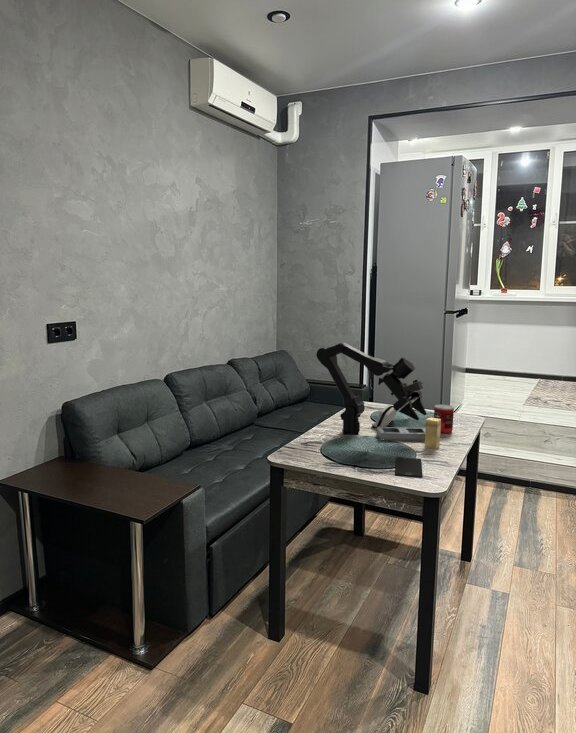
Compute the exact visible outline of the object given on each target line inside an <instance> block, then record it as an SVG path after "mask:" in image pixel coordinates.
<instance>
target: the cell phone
mask: <svg viewBox="0 0 576 733" xmlns="http://www.w3.org/2000/svg"><path fill="white" fill-rule="evenodd" d="M396 457H397V458H396ZM396 457H395V468H394V469H395V470H394V472H395V473H394V476H396V477H406V478H407V477H408V478H409V477H410V478H423V464H422V458H416V457H415V458H414V457H400V456H396Z"/></svg>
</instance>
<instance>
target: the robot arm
mask: <svg viewBox="0 0 576 733" xmlns="http://www.w3.org/2000/svg"><path fill="white" fill-rule="evenodd" d="M340 354H343V355H345V356H347V357H349V358H350V359H351V360H353V361H355V362H357V363H358V364H359V363H360V364H361V365H363V366H364V367H365V368H366V369H367V370H368V371H369V372H371V373H372V374H373V375H374V376H377V377H378V381H377V382H378V383H377V384H378V385H379V386H380V385H383V384H384V385H385V387H386V388H387V389H388V390H389V391H390V395H391V396H394V397H395V398H396V399H397V401H395V402H394V403H393V408H394V410H395V411H397V413H401V414H403V415H405V416H407V417H410V419H413V420H416V421H418V420H420V417H419V416H418V414H417V412H419V413H420V414H421V415H423V416H426V415H427V411H426V409H425V406H424V404H423V402H422V399H423V392H422V391H421V390H422V389H424V387H423V381H421V380H419V379H418V378H417V379H414V380H412V383H410V384H408V383H406V382H402V380H401V379H403V380H405V379H406V378H407V377H408V376H409V375H411V374H412V373H413V372H414V371H415V369H416V367H415V366H414V364H413V363H412V362H410V361H409V360H408V359H406V358H405V357H401V358H399V360H398V361H397V362H396V363H395V364H392V363H389V362H388V361H387V360H385V359H382V358H378V357H373V356H371V355H368V354H366V353H365V352H363V351H361V350H359V349H358V348H355V347H354V346H351V345H349V344H348V343H347V342H339V343H337V344H336V345H333V346H325V347H320V348H318V349H317V351H316V355H315V356H316V359H317V360H318V361H319V362H320V364H321V366H323V367H325V368H326V369H327V371H328V372H329V374H330V377H331V378H332V380H333V382H334V384H335V386H336V387H337V389H338V391H339V394H340V395H341V397H342V399H343V407H344V411H343V412H342V413H340V419H341V421H342V429H341V431H342V434H343V435H359V433H360V427H361V425H360V423H361V422H360V420H359V418H360V417H361V415H362V414H364V412H365V408H366V407H365V404H366V403H365V401H364V400H363V399H362V396H361V395H356V394H355V393H354V392H353V390H352V388H351V386H350V385H349V382H348V380H347V379H346V377H345V376H344V372H342V370H341V367H340V366H339V364H338V357H337V356H338V355H340ZM390 372H391V373H390ZM383 375H384V376H383ZM380 376H383V377H380ZM416 411H417V412H416Z"/></svg>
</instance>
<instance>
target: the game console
mask: <svg viewBox="0 0 576 733" xmlns="http://www.w3.org/2000/svg"><path fill="white" fill-rule="evenodd" d="M397 413H398V411H395V410H394V408H393V405H392V404H386V405H385V407H383V408H382V409H381V411H380V412H379V414H378V416H377V418H376V420H375V422H373V423H372V424H371V426H370V428H371V429H372V428H373V427H375V428H377V427H388V426H389V425H390V424H391V423H392V422H391V421H392V420H394V421H395V418H396V415H397ZM390 422H391V423H390ZM389 423H390V424H389Z"/></svg>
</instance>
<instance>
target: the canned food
mask: <svg viewBox="0 0 576 733" xmlns="http://www.w3.org/2000/svg"><path fill="white" fill-rule="evenodd" d="M454 409H455V408H454V406H453V405H449V404H435V405H434V409H433V418H438V419H441V430H440V435H441V434H442V435H443V434H444V435H449V434H452V432H453V429H454V415H455V414H454V413H455V412H454V411H455V410H454Z"/></svg>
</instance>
